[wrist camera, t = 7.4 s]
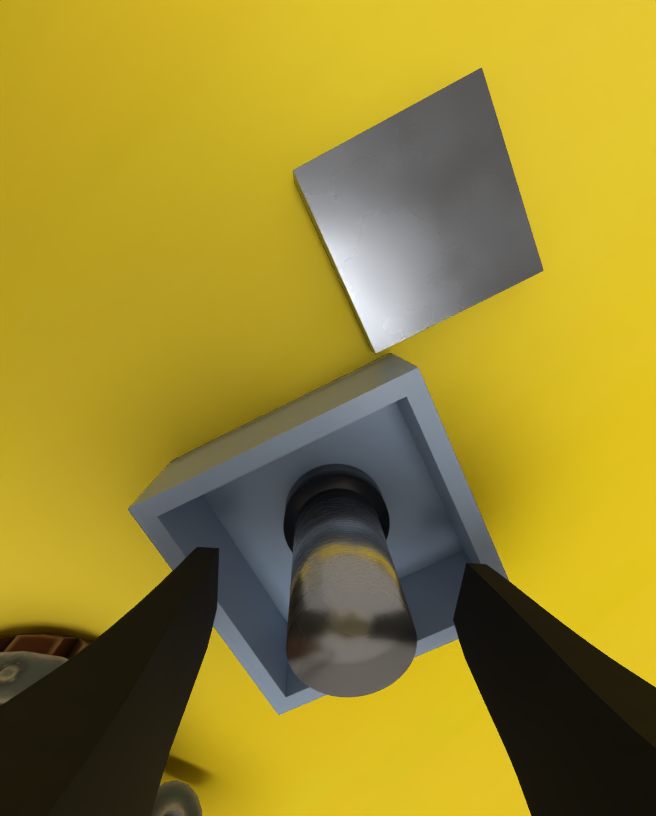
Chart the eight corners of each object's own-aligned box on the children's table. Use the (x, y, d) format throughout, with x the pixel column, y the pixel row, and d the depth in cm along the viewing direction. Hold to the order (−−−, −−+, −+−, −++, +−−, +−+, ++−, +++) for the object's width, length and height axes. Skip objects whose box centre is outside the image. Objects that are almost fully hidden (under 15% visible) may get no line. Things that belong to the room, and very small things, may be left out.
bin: (172, 460, 14) (127, 508, 10) (390, 353, 13) (418, 367, 10) (284, 630, 16) (278, 715, 13) (476, 546, 16) (522, 611, 12)
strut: (279, 545, 14) (258, 703, 9) (292, 457, 13) (279, 567, 8) (372, 556, 15) (414, 714, 9) (392, 470, 14) (452, 585, 8)
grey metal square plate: (294, 181, 12) (293, 170, 11) (467, 88, 11) (481, 67, 10) (370, 350, 13) (375, 353, 12) (525, 273, 13) (543, 270, 12)
